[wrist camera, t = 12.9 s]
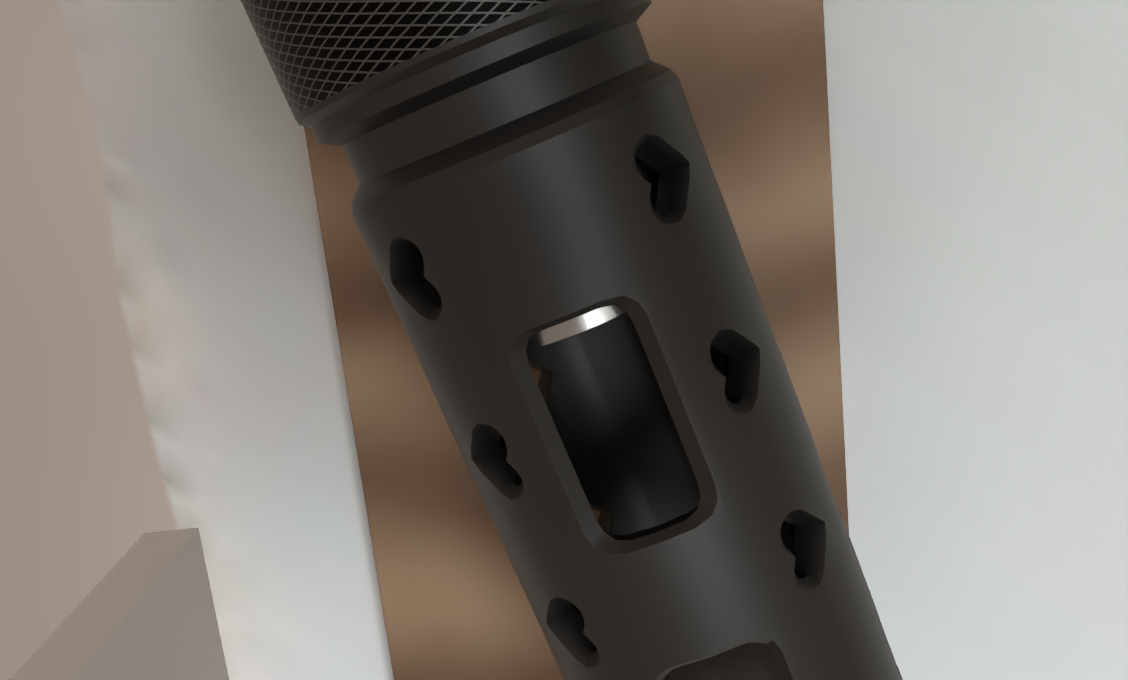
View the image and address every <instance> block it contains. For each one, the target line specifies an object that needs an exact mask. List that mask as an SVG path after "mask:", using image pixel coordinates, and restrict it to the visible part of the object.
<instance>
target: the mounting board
mask: <svg viewBox="0 0 1128 680" xmlns="http://www.w3.org/2000/svg"><path fill="white" fill-rule="evenodd" d="M651 2H652V3H651V4H650V6H649V7H648V8H647V9H646V11H645V12H644V13H643V14H642V16H641V17H640V18H639V19H638V21H637V24H638V27H639V30H640V33H641V35H642V38H643V41H644V44H645V46H646V49H647V52H648V55H649V57H650V60H651V61H654V62H656V63H658V64H661V65H663V66H665V67H668V68H670V69H671V70H672V71H673V72H674V73H675V74H676V75H677V76H678V78H679V80H680V83H681V86H682V88H683V91H684V94H685V96H686V99H687V102H688V104H689V107H690V111H691V114H692V117H693V120H694V122H695V125H696V128H697V130H698V133H699V136H700V138H701V141H702V143H703V146H704V149H705V151H706V154H707V157H708V160H709V163H710V165H711V168H712V171H713V173H714V176H715V179H716V181H717V183H718V185H719V188H720V190H721V193H722V196H723V198H724V201H725V204H726V207H727V209H728V212H729V215H730V217H731V220H732V223H733V225H734V228H735V231H736V233H737V236H738V239H739V241H740V244H741V247H742V250H743V252H744V255H745V258H746V260H747V263H748V266H749V268H750V271H751V274H752V276H753V279H754V282H755V285H756V288H757V291H758V294H759V297H760V300H761V302H762V305H763V308H764V310H765V313H766V316H767V318H768V321H769V323H770V326H771V329H772V332H773V334H774V337H775V340H776V343H777V345H778V348H779V351H780V352H781V354H782V357H783V360H784V362H785V365H786V368H787V371H788V373H789V376H790V379H791V381H792V384H793V387H794V389H795V392H796V395H797V397H798V400H799V403H800V405H801V408H802V411H803V414H804V416H805V419H806V422H807V424H808V427H809V430H810V432H811V435H812V438H813V440H814V443H815V446H816V449H817V452H818V455H819V458H820V461H821V463H822V466H823V469H824V472H825V474H826V477H827V480H828V482H829V485H830V487H831V490H832V493H833V496H834V498H835V501H836V504H837V507H838V509H839V511H840V513H841V516H842V518H843V521H844V524H845V526H846V529H847V532H848V534H849V529H848V508H847V488H846V467H845V446H844V426H843V405H842V384H841V364H840V343H839V322H838V302H837V281H836V261H835V240H834V219H833V199H832V178H831V157H830V137H829V116H828V95H827V75H826V54H825V33H824V13H823V0H651ZM304 128H305V134H306V140H307V146H308V152H309V158H310V164H311V171H312V177H313V183H314V189H315V195H316V201H317V207H318V214H319V220H320V226H321V232H322V238H323V244H324V251H325V257H326V263H327V269H328V275H329V281H330V287H331V294H332V300H333V306H334V312H335V318H336V324H337V330H338V337H339V343H340V349H341V355H342V361H343V367H344V374H345V380H346V386H347V392H348V398H349V404H350V410H351V417H352V423H353V429H354V435H355V441H356V447H357V454H358V460H359V466H360V472H361V478H362V484H363V490H364V497H365V503H366V509H367V515H368V521H369V527H370V533H371V540H372V546H373V552H374V558H375V564H376V570H377V577H378V583H379V589H380V595H381V601H382V607H383V613H384V620H385V626H386V632H387V638H388V644H389V650H390V656H391V663H392V669H393V675H394V680H564V677H563V675H562V673H561V671H560V669H559V666H558V664H557V662H556V660H555V658H554V655H553V653H552V651H551V649H550V647H549V644H548V642H547V640H546V638H545V636H544V634H543V631H542V629H541V627H540V625H539V623H538V620H537V618H536V616H535V614H534V612H533V609H532V607H531V605H530V603H529V601H528V599H527V596H526V594H525V592H524V590H523V588H522V585H521V583H520V581H519V579H518V577H517V574H516V572H515V570H514V568H513V566H512V564H511V561H510V559H509V557H508V555H507V553H506V550H505V548H504V546H503V544H502V542H501V539H500V537H499V535H498V533H497V531H496V528H495V526H494V524H493V522H492V520H491V518H490V515H489V513H488V511H487V509H486V507H485V504H484V502H483V500H482V498H481V496H480V493H479V491H478V489H477V487H476V485H475V483H474V480H473V478H472V476H471V474H470V472H469V469H468V467H467V465H466V463H465V461H464V458H463V456H462V454H461V452H460V450H459V448H458V445H457V443H456V441H455V439H454V437H453V434H452V432H451V430H450V428H449V426H448V423H447V421H446V419H445V417H444V415H443V413H442V410H441V408H440V406H439V404H438V402H437V399H436V397H435V395H434V393H433V391H432V388H431V386H430V384H429V382H428V380H427V377H426V375H425V373H424V371H423V369H422V367H421V364H420V362H419V360H418V358H417V356H416V353H415V351H414V349H413V347H412V345H411V342H410V340H409V338H408V336H407V334H406V332H405V329H404V327H403V325H402V323H401V321H400V318H399V316H398V314H397V312H396V310H395V307H394V305H393V303H392V301H391V299H390V297H389V294H388V292H387V290H386V288H385V286H384V283H383V281H382V279H381V277H380V275H379V272H378V270H377V268H376V266H375V264H374V262H373V259H372V257H371V255H370V253H369V251H368V248H367V246H366V244H365V242H364V240H363V237H362V235H361V233H360V231H359V229H358V226H357V224H356V222H355V220H354V218H353V216H352V201H353V198H354V195H355V193H356V190H357V188H358V185H359V181H358V179H357V176H356V174H355V172H354V170H353V168H352V166H351V164H350V161H349V159H348V157H347V155H346V153H345V151H344V149H343V146H339V145H329V144H319V143H318V142H317V140H316V138H315V136H314V134H313V132H312V130H311V128H308V127H304ZM530 368H531V367H530ZM531 370H532V372H533V375H534V377H535V379H536V382H537V384H538V381H539V377H540V374H541V372H540V371H538V370H536V369H533V368H531ZM592 511H593V514H594V516H595V518H596V520H597V522H598V519H599V516H600V512H598V511H596V510H593V509H592Z"/></svg>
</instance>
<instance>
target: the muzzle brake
mask: <svg viewBox="0 0 1128 680" xmlns="http://www.w3.org/2000/svg"><path fill="white" fill-rule="evenodd" d="M241 2H242V4H243V6H244V8H245V11H246V13H247V15H248V17H249V19H250V21H251V24H252V26H253V28H254V30H255V32H256V34H257V37H258V39H259V41H260V43H261V45H262V47H263V50H264V52H265V54H266V56H267V58H268V61H269V63H270V65H271V67H272V69H273V71H274V74H275V76H276V78H277V80H278V82H279V84H280V87H281V89H282V91H283V93H284V95H285V97H286V100H287V102H288V104H289V106H290V108H291V111H292V113H293V115H294V117H295V119H296V121H297V122H298V124H299V125H301V126H304V127H308V128H311V130H312V132H313V134H314V136H315V138H316V140H317V142H318V143H319V144H329V145H339V146H343V149H344V151H345V153H346V155H347V157H348V159H349V161H350V164H351V166H352V168H353V170H354V172H355V174H356V176H357V179H358V181H359V185H358V188H357V190H356V193H355V195H354V198H353V201H352V216H353V218H354V220H355V222H356V224H357V226H358V229H359V231H360V233H361V235H362V237H363V240H364V242H365V244H366V246H367V248H368V251H369V253H370V255H371V257H372V259H373V262H374V264H375V266H376V268H377V270H378V272H379V275H380V277H381V279H382V281H383V283H384V286H385V288H386V290H387V292H388V294H389V297H390V299H391V301H392V303H393V305H394V307H395V310H396V312H397V314H398V316H399V318H400V321H401V323H402V325H403V327H404V329H405V332H406V334H407V336H408V338H409V340H410V342H411V345H412V347H413V349H414V351H415V353H416V356H417V358H418V360H419V362H420V364H421V367H422V369H423V371H424V373H425V375H426V377H427V380H428V382H429V384H430V386H431V388H432V391H433V393H434V395H435V397H436V399H437V402H438V404H439V406H440V408H441V410H442V413H443V415H444V417H445V419H446V421H447V423H448V426H449V428H450V430H451V432H452V434H453V437H454V439H455V441H456V443H457V445H458V448H459V450H460V452H461V454H462V456H463V458H464V461H465V463H466V465H467V467H468V469H469V472H470V474H471V476H472V478H473V480H474V483H475V485H476V487H477V489H478V491H479V493H480V496H481V498H482V500H483V502H484V504H485V507H486V509H487V511H488V513H489V515H490V518H491V520H492V522H493V524H494V526H495V528H496V531H497V533H498V535H499V537H500V539H501V542H502V544H503V546H504V548H505V550H506V553H507V555H508V557H509V559H510V561H511V564H512V566H513V568H514V570H515V572H516V574H517V577H518V579H519V581H520V583H521V585H522V588H523V590H524V592H525V594H526V596H527V599H528V601H529V603H530V605H531V607H532V609H533V612H534V614H535V616H536V618H537V620H538V623H539V625H540V627H541V629H542V631H543V634H544V636H545V638H546V640H547V642H548V644H549V647H550V649H551V651H552V653H553V655H554V658H555V660H556V662H557V664H558V666H559V669H560V671H561V673H562V675H563V677H564V680H902V677H901V674H900V672H899V669H898V667H897V665H896V662H895V660H894V657H893V654H892V651H891V648H890V646H889V644H888V641H887V638H886V636H885V633H884V630H883V627H882V625H881V622H880V619H879V616H878V613H877V610H876V607H875V604H874V602H873V599H872V596H871V594H870V591H869V588H868V586H867V583H866V580H865V578H864V575H863V572H862V569H861V567H860V564H859V561H858V559H857V556H856V553H855V551H854V548H853V545H852V543H851V540H850V537H849V534H848V532H847V529H846V526H845V524H844V521H843V518H842V516H841V513H840V511H839V509H838V507H837V504H836V501H835V498H834V496H833V493H832V490H831V487H830V485H829V482H828V480H827V477H826V474H825V472H824V469H823V466H822V463H821V461H820V458H819V455H818V452H817V449H816V446H815V443H814V440H813V438H812V435H811V432H810V430H809V427H808V424H807V422H806V419H805V416H804V414H803V411H802V408H801V405H800V403H799V400H798V397H797V395H796V392H795V389H794V387H793V384H792V381H791V379H790V376H789V373H788V371H787V368H786V365H785V362H784V360H783V357H782V354H781V352H780V351H779V348H778V345H777V343H776V340H775V337H774V334H773V332H772V329H771V326H770V323H769V321H768V318H767V316H766V313H765V310H764V308H763V305H762V302H761V300H760V297H759V294H758V291H757V288H756V285H755V282H754V279H753V276H752V274H751V271H750V268H749V266H748V263H747V260H746V258H745V255H744V252H743V250H742V247H741V244H740V241H739V239H738V236H737V233H736V231H735V228H734V225H733V223H732V220H731V217H730V215H729V212H728V209H727V207H726V204H725V201H724V198H723V196H722V193H721V190H720V188H719V185H718V183H717V181H716V179H715V176H714V173H713V171H712V168H711V165H710V163H709V160H708V157H707V154H706V151H705V149H704V146H703V143H702V141H701V138H700V136H699V133H698V130H697V128H696V125H695V122H694V120H693V117H692V114H691V111H690V107H689V104H688V102H687V99H686V96H685V94H684V91H683V88H682V86H681V83H680V80H679V78H678V76H677V75H676V74H675V73H674V72H673V71H672V70H671V69H670V68H668V67H665V66H663V65H661V64H658V63H656V62H654V61H651V60H650V57H649V55H648V52H647V49H646V46H645V44H644V41H643V38H642V35H641V33H640V30H639V27H638V24H637V21H638V19H639V18H640V17H641V16H642V14H643V13H644V12H645V11H646V9H647V8H648V7H649V6H650V4H651V3H652V2H651V0H241ZM530 367H531V368H533V369H536V370H538V371H540V372H541V374H540V377H539V381H538V384H537V382H536V379H535V377H534V375H533V372H532V370H531V368H530ZM592 509H593V510H596V511H598V512H600V516H599V519H598V522H597V520H596V518H595V516H594V514H593V511H592Z"/></svg>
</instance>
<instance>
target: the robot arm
mask: <svg viewBox="0 0 1128 680" xmlns="http://www.w3.org/2000/svg"><path fill="white" fill-rule="evenodd" d="M10 680H229V678H228V673H227V668H226V663H225V658H224V653H223V648H222V643H221V638H220V633H219V628H218V623H217V618H216V613H215V608H214V604H213V599H212V594H211V589H210V584H209V579H208V574H207V569H206V564H205V559H204V554H203V549H202V544H201V539H200V534H199V529H198V528H191V529H181V530H172V531H163V532H152V533H144V534H143V535H142V536H141V537H140V539H139V540H138V541H137V542H136V543H135V544H134V545H133V546H132V547H131V548H130V549H129V551H128V552H127V553H126V554H125V555H124V556H123V557H122V558H121V559H120V560H119V562H118V563H117V564H116V565H115V566H114V567H113V568H112V569H111V570H110V571H109V572H108V573H107V575H106V576H105V577H104V578H103V579H102V580H101V581H100V582H99V583H98V584H97V586H96V587H95V588H94V589H93V590H92V591H91V592H90V593H89V594H88V595H87V596H86V598H85V599H84V600H83V601H82V602H81V603H80V604H79V605H78V606H77V607H76V608H75V610H74V611H73V612H72V613H71V614H70V615H69V616H68V617H67V618H66V619H65V621H64V622H63V623H62V624H61V625H60V626H59V627H58V628H57V629H56V630H55V631H54V632H53V634H52V635H51V636H50V637H49V638H48V639H47V640H46V641H45V642H44V644H42V646H41V647H40V648H39V649H38V650H37V651H36V652H35V653H34V654H33V655H32V656H31V658H30V659H29V660H28V661H27V662H26V663H25V664H24V665H23V666H22V667H21V669H20V670H19V671H18V672H17V673H16V674H15V675H14V676H13V677H12V679H10Z"/></svg>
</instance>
